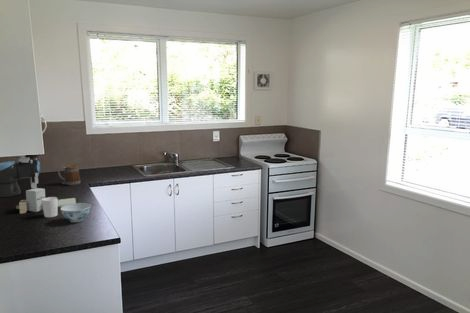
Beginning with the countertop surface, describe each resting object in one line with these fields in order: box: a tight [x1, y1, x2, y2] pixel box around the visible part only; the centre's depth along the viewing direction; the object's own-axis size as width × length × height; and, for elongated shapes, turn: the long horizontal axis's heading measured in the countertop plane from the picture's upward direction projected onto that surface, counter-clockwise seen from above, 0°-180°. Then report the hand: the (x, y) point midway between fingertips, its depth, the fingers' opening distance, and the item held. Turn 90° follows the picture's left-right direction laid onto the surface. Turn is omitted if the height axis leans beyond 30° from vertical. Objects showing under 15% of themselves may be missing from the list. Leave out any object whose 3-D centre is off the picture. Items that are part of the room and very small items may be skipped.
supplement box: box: [25, 187, 46, 213], centre depth 216 cm, size 7×7×13 cm
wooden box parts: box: [15, 197, 48, 214], centre depth 219 cm, size 16×19×6 cm
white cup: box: [42, 196, 59, 218], centre depth 204 cm, size 8×8×10 cm
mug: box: [57, 164, 82, 187], centre depth 283 cm, size 16×11×15 cm
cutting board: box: [57, 197, 77, 208], centre depth 231 cm, size 14×11×1 cm
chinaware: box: [60, 202, 92, 223], centre depth 195 cm, size 15×15×8 cm
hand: (34, 185), depth 214 cm, fingers open, 13 cm apart
